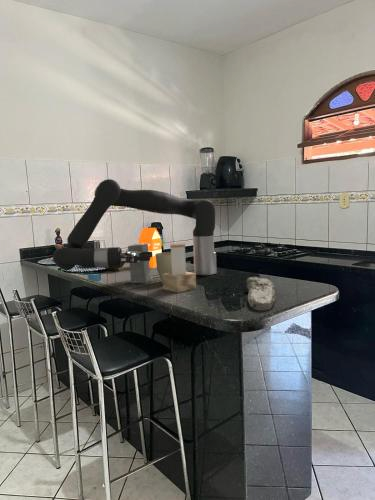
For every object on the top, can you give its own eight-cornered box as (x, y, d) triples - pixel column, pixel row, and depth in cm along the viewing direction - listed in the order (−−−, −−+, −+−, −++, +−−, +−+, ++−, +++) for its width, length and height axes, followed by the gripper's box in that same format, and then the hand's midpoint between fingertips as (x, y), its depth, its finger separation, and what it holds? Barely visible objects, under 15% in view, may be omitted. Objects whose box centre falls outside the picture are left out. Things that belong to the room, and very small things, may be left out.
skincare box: (145, 283, 156) (143, 245, 154) (129, 283, 158) (126, 245, 156) (151, 279, 164) (149, 242, 162) (135, 279, 166) (133, 243, 164)
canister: (172, 272, 147) (170, 243, 146) (186, 271, 148) (184, 243, 146) (171, 275, 142) (170, 245, 141) (186, 274, 142) (185, 244, 141)
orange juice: (153, 268, 193) (151, 228, 190) (139, 266, 197) (137, 228, 195) (162, 265, 199) (160, 227, 197) (149, 264, 204) (147, 227, 201)
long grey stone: (243, 315, 114) (277, 318, 113) (244, 298, 113) (278, 301, 112) (247, 283, 148) (273, 285, 146) (247, 270, 147) (274, 271, 145)
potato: (116, 267, 197) (115, 252, 196) (128, 270, 187) (127, 254, 186) (101, 270, 192) (100, 254, 191) (112, 273, 182) (111, 256, 181)
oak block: (181, 285, 152) (180, 270, 151) (196, 288, 145) (195, 273, 144) (163, 289, 146) (162, 273, 146) (177, 293, 139) (176, 277, 139)
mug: (175, 285, 151) (174, 255, 149) (153, 284, 154) (151, 255, 153) (185, 279, 161) (184, 251, 160) (163, 278, 165) (162, 251, 163)
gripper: (103, 250, 136) (148, 248, 136) (111, 245, 151) (152, 243, 150) (104, 270, 137) (149, 269, 137) (112, 264, 152) (153, 262, 151)
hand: (151, 256), depth 144 cm, fingers open, 8 cm apart
